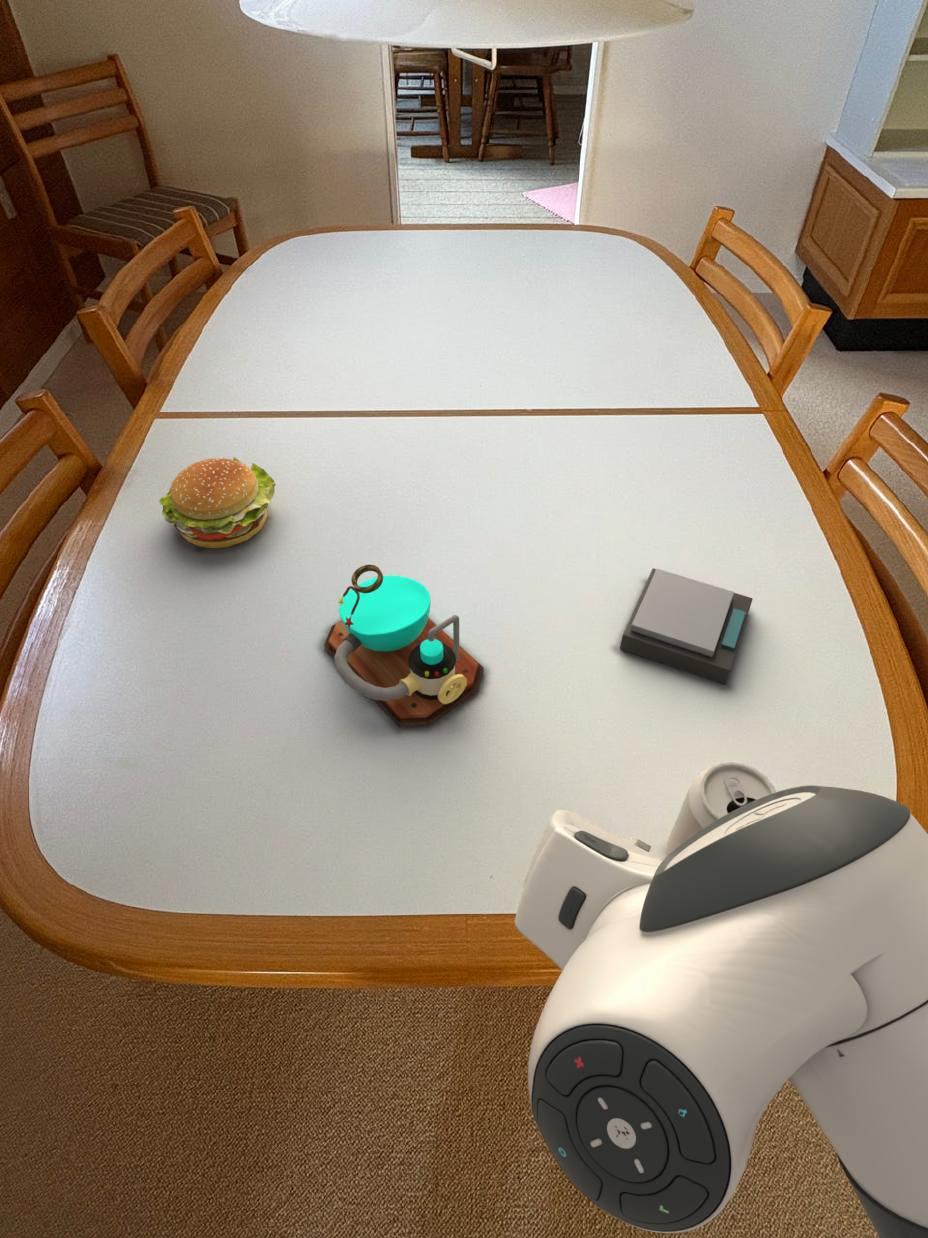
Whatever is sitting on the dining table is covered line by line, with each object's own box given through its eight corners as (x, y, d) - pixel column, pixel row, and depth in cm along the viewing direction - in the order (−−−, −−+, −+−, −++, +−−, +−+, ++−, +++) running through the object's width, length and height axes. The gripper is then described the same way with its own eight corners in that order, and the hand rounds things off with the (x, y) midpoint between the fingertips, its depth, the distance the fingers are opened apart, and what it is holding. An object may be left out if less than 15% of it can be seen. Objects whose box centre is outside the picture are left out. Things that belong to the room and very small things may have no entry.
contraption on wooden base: (392, 752, 80) (380, 657, 69) (297, 649, 89) (273, 551, 78) (495, 681, 86) (499, 584, 75) (396, 592, 95) (387, 494, 84)
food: (219, 573, 98) (204, 524, 92) (151, 527, 104) (132, 478, 98) (301, 517, 105) (291, 468, 99) (232, 477, 111) (219, 429, 105)
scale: (747, 612, 93) (755, 591, 91) (724, 685, 86) (732, 664, 83) (649, 582, 97) (654, 561, 94) (619, 649, 89) (623, 628, 87)
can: (687, 909, 69) (720, 846, 60) (651, 833, 74) (676, 765, 65) (763, 887, 70) (806, 822, 62) (723, 814, 75) (757, 744, 66)
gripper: (915, 1021, 37) (879, 924, 50) (530, 812, 44) (586, 775, 57) (857, 1135, 37) (836, 1011, 50) (488, 911, 45) (552, 853, 58)
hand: (701, 885), depth 54 cm, fingers open, 8 cm apart
